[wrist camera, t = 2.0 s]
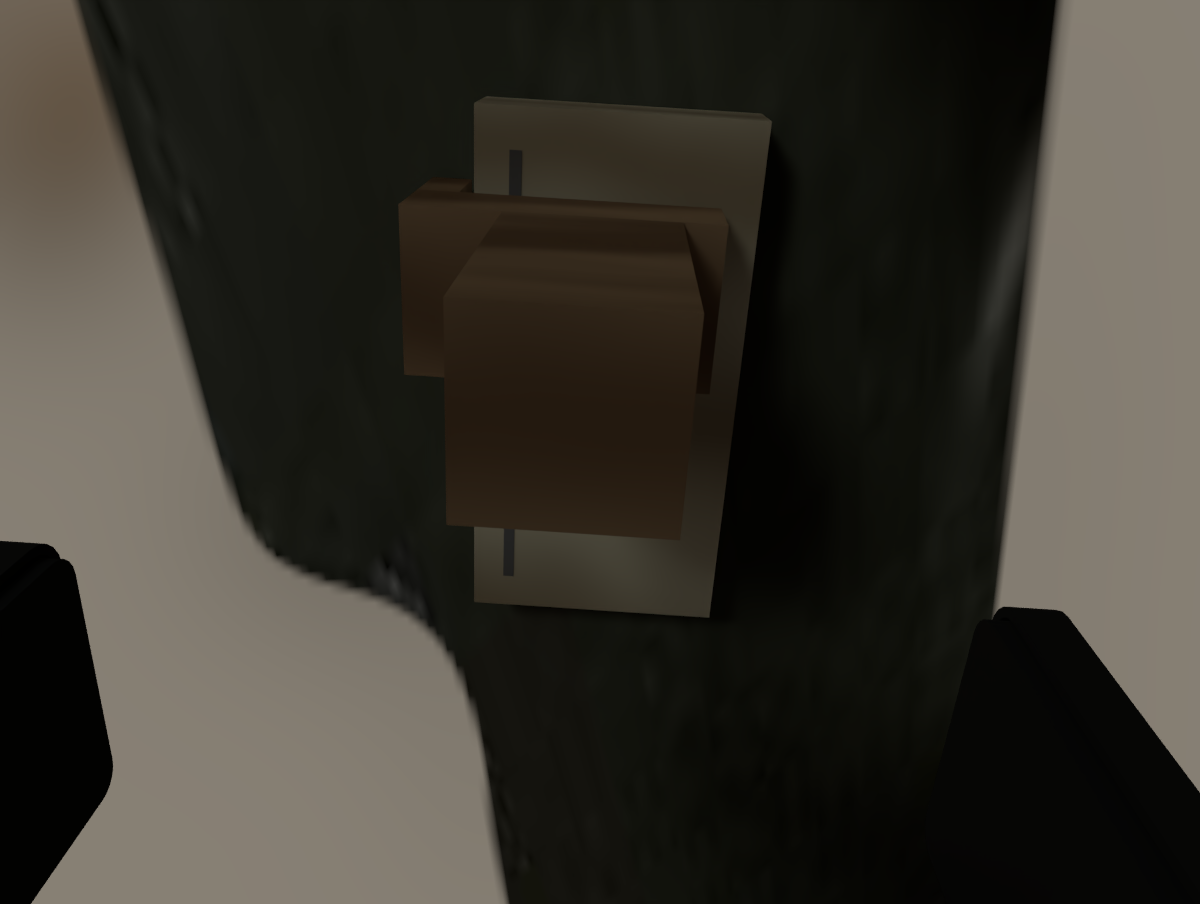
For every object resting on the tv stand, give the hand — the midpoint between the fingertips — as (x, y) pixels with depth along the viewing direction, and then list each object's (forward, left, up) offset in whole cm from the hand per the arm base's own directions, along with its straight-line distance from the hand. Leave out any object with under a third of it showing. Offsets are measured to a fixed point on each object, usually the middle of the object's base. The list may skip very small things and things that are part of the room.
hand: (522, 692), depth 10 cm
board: (+3, +1, -18) cm, 18 cm away
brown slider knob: (0, 0, -18) cm, 18 cm away
